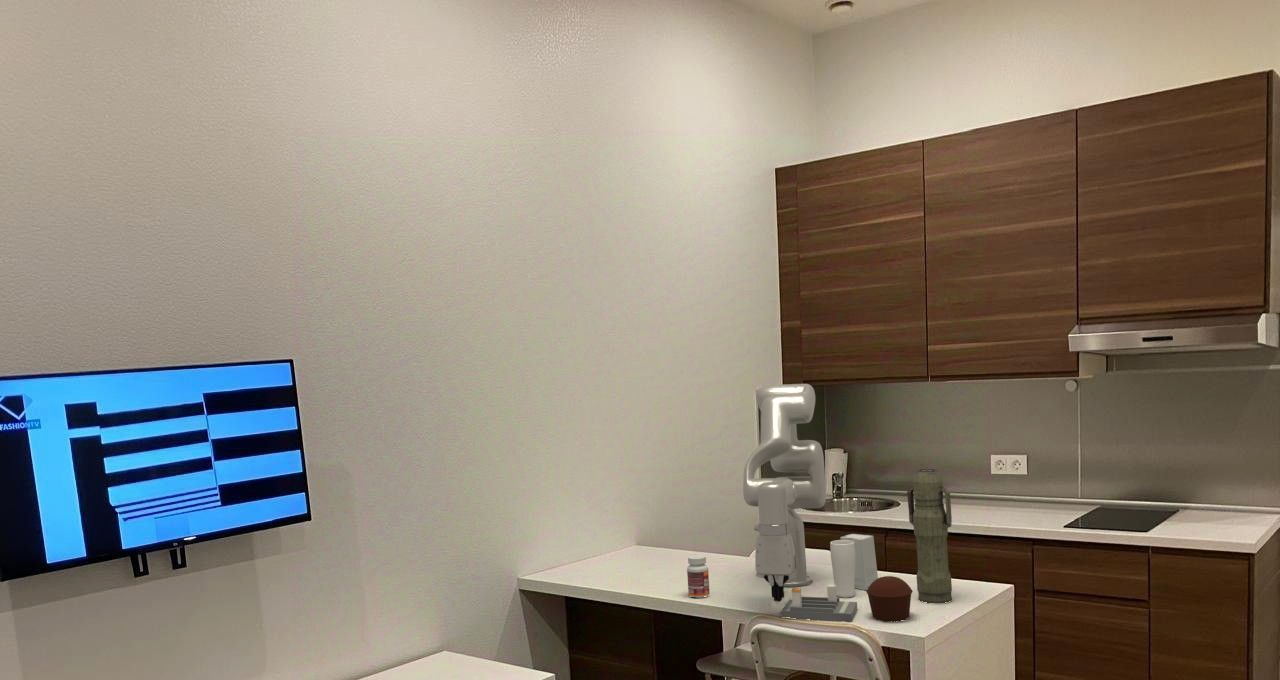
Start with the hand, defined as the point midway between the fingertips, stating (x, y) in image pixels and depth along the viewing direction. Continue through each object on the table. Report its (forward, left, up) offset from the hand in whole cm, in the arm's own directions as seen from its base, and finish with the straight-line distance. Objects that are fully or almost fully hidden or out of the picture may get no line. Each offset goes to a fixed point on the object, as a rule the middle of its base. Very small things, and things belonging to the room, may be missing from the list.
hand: (778, 600), depth 239 cm
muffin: (-4, +28, -4) cm, 29 cm away
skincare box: (-35, +17, -4) cm, 39 cm away
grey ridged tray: (-4, +10, -4) cm, 11 cm away
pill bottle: (-18, -27, -4) cm, 32 cm away
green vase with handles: (-23, +38, -4) cm, 44 cm away
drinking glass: (-24, +14, -4) cm, 28 cm away
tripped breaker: (0, +5, -2) cm, 5 cm away
